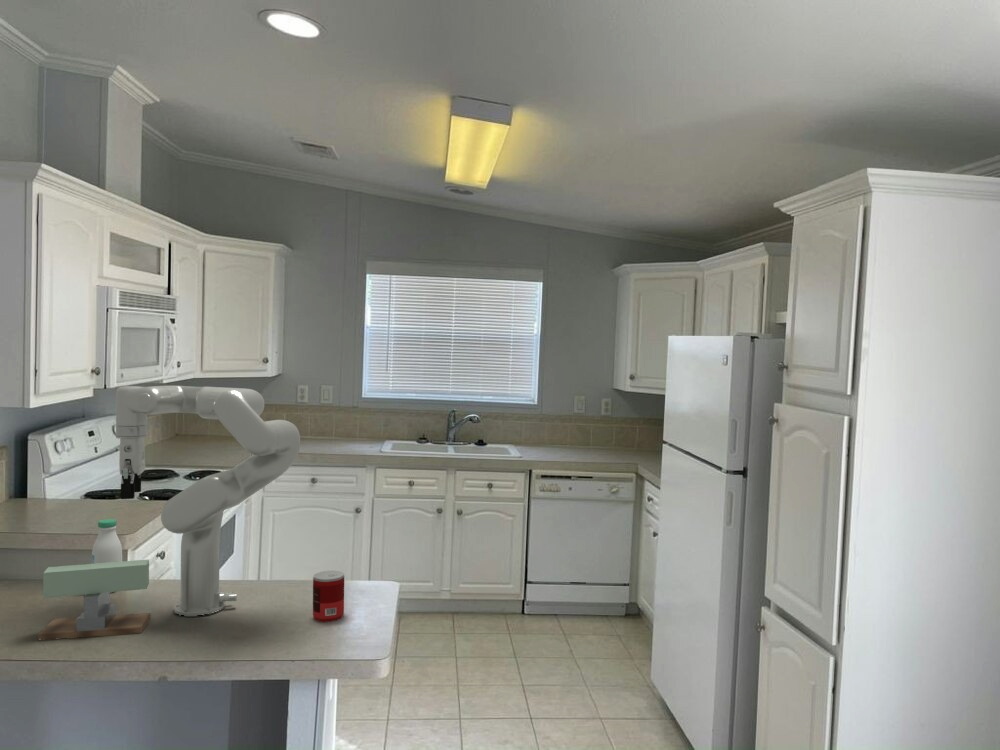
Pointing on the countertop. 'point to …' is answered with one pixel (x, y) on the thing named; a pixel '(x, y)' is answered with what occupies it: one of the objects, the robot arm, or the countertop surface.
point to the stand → (96, 621)
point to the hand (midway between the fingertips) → (131, 495)
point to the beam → (95, 578)
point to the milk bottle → (107, 543)
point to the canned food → (328, 596)
